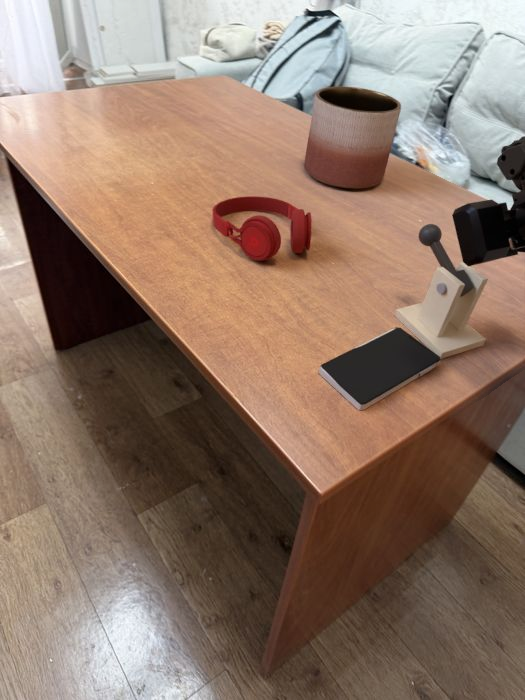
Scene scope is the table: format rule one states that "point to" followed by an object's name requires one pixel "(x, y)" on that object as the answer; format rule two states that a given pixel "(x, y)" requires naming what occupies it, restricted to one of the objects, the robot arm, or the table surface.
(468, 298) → the switch unit
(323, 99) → the planter
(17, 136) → the table surface
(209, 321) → the table surface
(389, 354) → the smartphone
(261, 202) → the headphones
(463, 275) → the switch lever
